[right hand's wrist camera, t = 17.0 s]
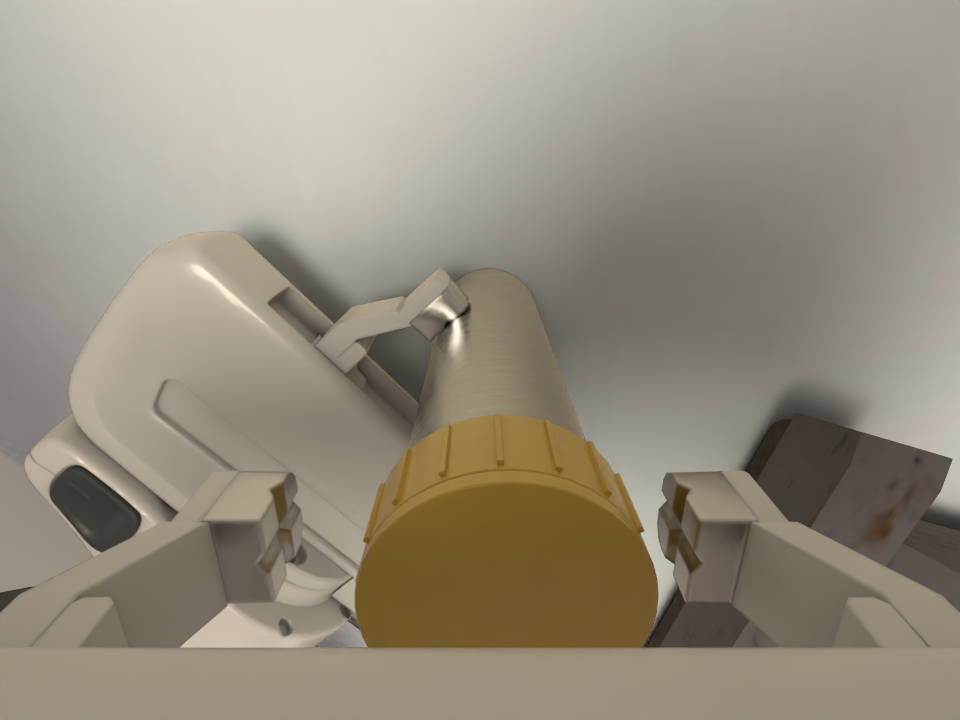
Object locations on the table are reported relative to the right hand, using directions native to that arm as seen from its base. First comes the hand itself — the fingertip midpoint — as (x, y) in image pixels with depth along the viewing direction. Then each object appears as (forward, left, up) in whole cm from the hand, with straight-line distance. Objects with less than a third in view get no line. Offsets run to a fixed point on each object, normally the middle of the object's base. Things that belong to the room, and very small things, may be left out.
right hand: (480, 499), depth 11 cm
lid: (0, 0, +2) cm, 2 cm away
